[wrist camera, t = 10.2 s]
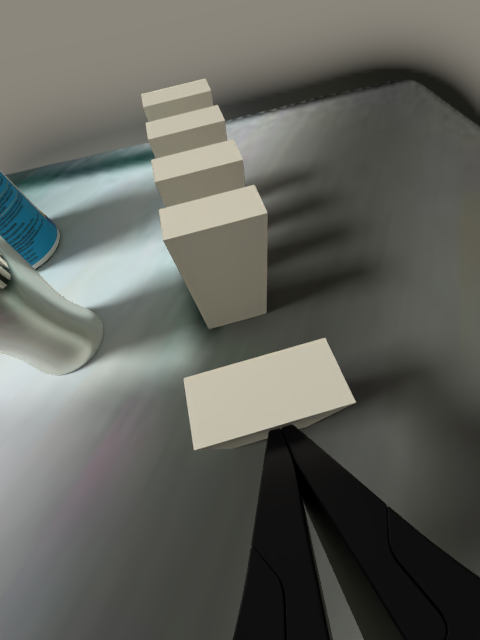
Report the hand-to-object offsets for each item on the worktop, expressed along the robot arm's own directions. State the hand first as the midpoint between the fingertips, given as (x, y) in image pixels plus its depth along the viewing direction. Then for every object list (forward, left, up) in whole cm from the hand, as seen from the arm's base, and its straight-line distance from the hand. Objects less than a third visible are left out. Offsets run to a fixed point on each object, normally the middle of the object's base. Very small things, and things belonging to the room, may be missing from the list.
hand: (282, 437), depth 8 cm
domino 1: (+1, 0, -9) cm, 9 cm away
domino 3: (+14, -4, -9) cm, 17 cm away
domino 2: (+10, -3, -9) cm, 14 cm away
